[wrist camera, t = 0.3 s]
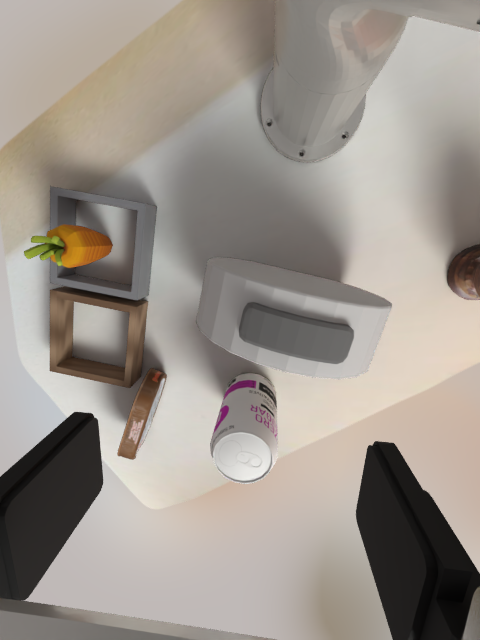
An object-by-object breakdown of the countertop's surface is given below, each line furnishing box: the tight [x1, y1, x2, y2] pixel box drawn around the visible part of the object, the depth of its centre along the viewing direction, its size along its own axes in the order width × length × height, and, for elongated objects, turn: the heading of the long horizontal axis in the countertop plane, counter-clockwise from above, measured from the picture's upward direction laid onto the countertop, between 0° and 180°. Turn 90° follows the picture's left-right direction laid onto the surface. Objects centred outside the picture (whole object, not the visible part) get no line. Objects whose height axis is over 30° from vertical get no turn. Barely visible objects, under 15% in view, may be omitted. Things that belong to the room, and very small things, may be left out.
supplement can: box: [210, 373, 278, 484], centre depth 42 cm, size 8×8×15 cm
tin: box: [118, 368, 167, 460], centre depth 47 cm, size 15×3×8 cm, turn 159°
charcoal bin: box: [50, 186, 157, 300], centre depth 43 cm, size 13×13×4 cm
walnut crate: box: [50, 286, 148, 388], centre depth 47 cm, size 13×13×4 cm
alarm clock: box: [196, 257, 392, 379], centre depth 35 cm, size 21×8×20 cm, turn 77°
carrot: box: [24, 224, 113, 268], centre depth 38 cm, size 5×5×15 cm
